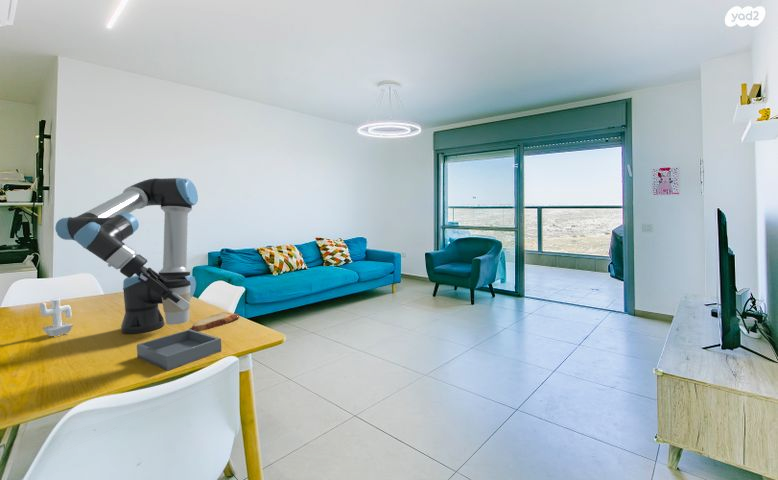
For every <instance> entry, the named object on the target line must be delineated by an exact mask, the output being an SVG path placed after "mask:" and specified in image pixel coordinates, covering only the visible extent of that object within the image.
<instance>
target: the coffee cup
mask: <svg viewBox="0 0 778 480" xmlns="http://www.w3.org/2000/svg"><path fill="white" fill-rule="evenodd" d="M162 284H163V285H165V286H166V287H167V288H168V289H169V290H170V291H172V292H175V293H176V294H177V295H179V296H180V297H182V298H183V299H184V300H186V301H187V302H189V303H190V305H189V306H188V307H187V308H186V309H185V310H183V309H181V308H180V307H178V306H177V305H175V304H174V303H172V302H171V301H170V300H168V299H166V300H163V298H162V302H163V304H162V308H163V312H164V318H165V319H164V320H165V324H166V325H180V324H184V323H187V322H189V321H190V309H191V299H190V293H191V291H190V285H191V284H190V281H188V280H187V279H186V278H185V277H178V278H173V279H167V280H164V282H163V283H162Z"/></svg>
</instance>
